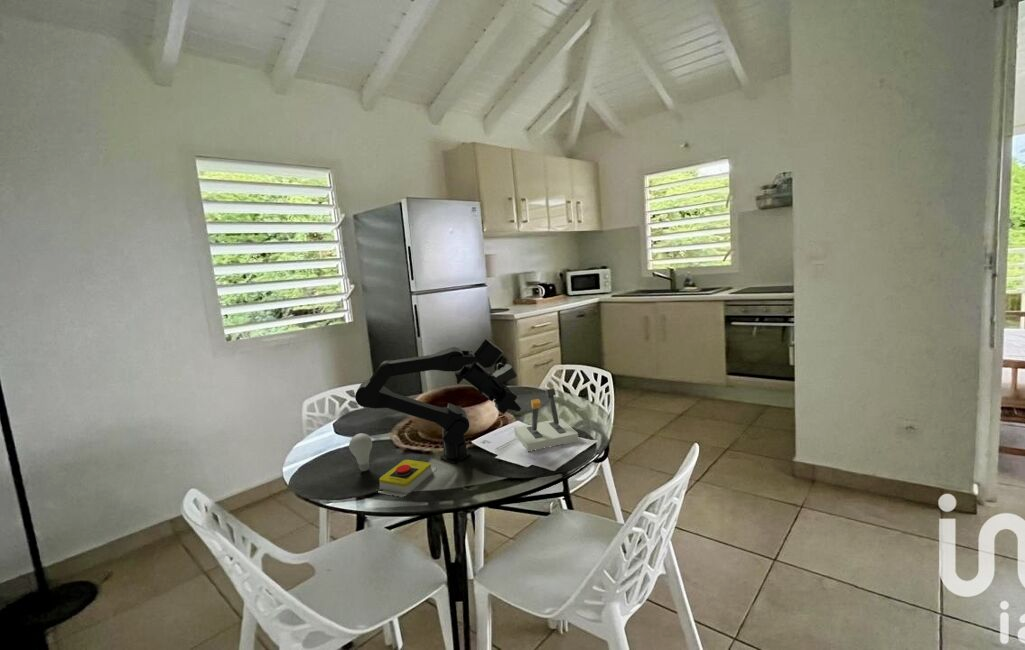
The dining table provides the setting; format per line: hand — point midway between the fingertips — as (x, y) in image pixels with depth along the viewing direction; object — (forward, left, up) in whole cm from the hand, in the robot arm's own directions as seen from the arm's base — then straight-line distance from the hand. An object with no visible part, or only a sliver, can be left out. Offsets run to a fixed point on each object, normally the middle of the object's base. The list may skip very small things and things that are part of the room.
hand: (519, 409), depth 129 cm
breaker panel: (+4, +7, -11) cm, 13 cm away
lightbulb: (-29, -35, -11) cm, 47 cm away
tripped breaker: (+2, +4, -8) cm, 9 cm away
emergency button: (-14, -32, -12) cm, 37 cm away
